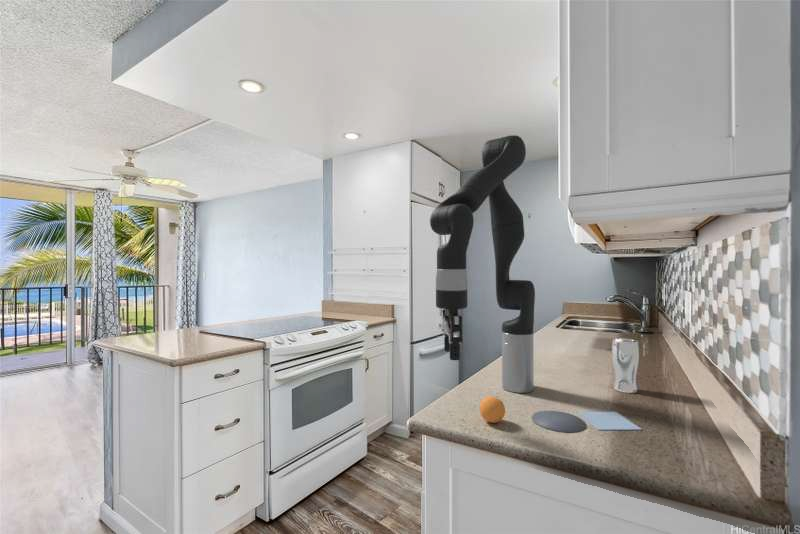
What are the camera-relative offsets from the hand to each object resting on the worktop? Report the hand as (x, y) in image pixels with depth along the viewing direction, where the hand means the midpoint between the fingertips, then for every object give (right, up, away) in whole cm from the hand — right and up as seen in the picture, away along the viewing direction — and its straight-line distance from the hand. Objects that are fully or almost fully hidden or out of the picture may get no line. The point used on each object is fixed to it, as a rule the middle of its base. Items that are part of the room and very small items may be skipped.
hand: (451, 355), depth 89 cm
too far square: (+38, -16, +1) cm, 41 cm away
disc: (+26, -16, +1) cm, 30 cm away
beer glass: (+56, -16, +23) cm, 62 cm away
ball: (+10, -13, 0) cm, 17 cm away
